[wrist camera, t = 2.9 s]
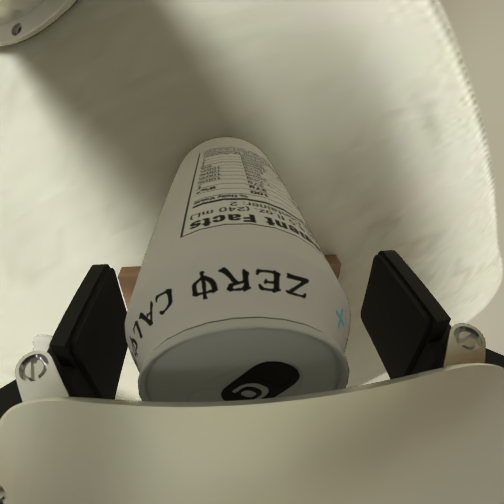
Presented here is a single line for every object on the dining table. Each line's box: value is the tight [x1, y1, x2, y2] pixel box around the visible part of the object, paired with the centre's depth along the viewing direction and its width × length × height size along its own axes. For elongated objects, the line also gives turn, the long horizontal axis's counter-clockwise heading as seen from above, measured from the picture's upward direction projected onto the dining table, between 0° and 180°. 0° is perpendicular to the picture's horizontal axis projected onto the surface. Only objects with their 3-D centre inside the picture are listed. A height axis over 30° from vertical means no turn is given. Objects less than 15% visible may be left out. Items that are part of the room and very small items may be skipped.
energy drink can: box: [125, 137, 351, 402], centre depth 13 cm, size 6×6×15 cm
